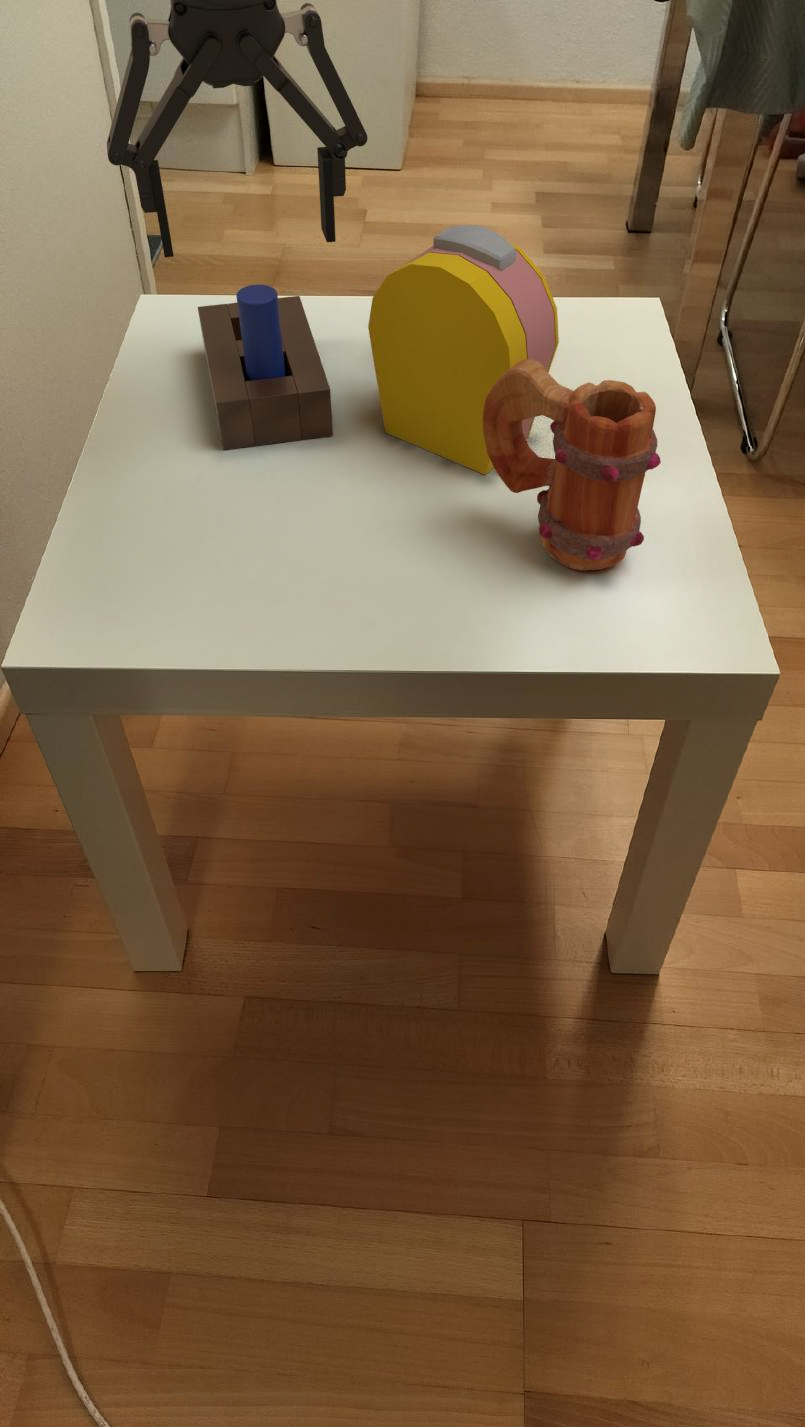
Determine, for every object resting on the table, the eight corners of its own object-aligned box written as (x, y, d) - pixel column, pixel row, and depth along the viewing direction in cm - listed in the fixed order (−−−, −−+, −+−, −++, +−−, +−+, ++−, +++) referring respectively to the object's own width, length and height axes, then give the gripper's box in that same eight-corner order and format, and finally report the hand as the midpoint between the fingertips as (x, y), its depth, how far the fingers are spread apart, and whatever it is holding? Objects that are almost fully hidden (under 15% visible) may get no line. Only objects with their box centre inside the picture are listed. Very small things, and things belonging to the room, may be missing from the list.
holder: (223, 450, 93) (215, 403, 89) (204, 352, 104) (197, 306, 101) (333, 436, 95) (330, 388, 91) (303, 340, 106) (299, 295, 102)
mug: (655, 543, 85) (694, 383, 73) (615, 598, 80) (650, 438, 69) (503, 486, 90) (518, 328, 78) (457, 535, 85) (466, 376, 74)
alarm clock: (548, 439, 94) (574, 243, 80) (502, 482, 90) (520, 283, 76) (420, 387, 100) (423, 197, 86) (370, 425, 96) (365, 231, 82)
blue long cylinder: (254, 425, 96) (238, 306, 87) (249, 405, 98) (234, 286, 89) (291, 421, 96) (279, 301, 87) (285, 400, 98) (274, 282, 89)
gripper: (382, -91, 73) (383, 211, 89) (29, -76, 69) (97, 236, 85) (405, -66, 68) (402, 248, 84) (27, -49, 64) (100, 277, 80)
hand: (249, 243), depth 84 cm, fingers open, 13 cm apart
